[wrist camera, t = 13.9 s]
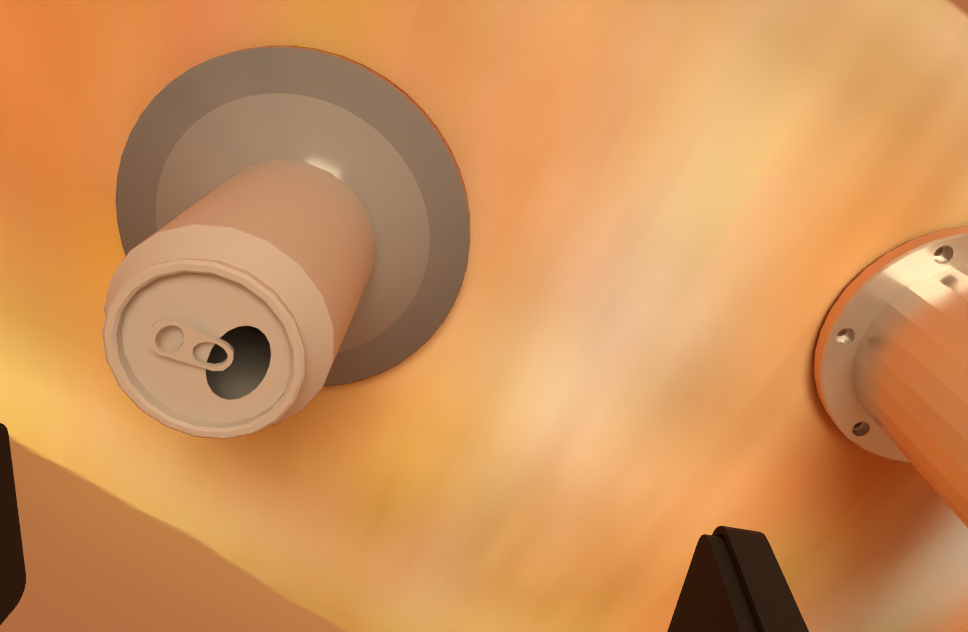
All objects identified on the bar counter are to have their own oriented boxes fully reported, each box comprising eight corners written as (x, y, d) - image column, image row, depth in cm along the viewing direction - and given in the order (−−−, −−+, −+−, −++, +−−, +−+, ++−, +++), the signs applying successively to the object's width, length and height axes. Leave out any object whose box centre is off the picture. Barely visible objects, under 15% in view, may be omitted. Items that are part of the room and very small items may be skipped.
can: (332, 339, 36) (261, 495, 25) (188, 261, 34) (43, 391, 23) (409, 211, 33) (366, 323, 22) (256, 121, 31) (129, 193, 21)
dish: (501, 86, 32) (501, 89, 31) (439, 399, 38) (438, 412, 37) (127, 10, 31) (112, 11, 30) (128, 345, 37) (116, 357, 36)
